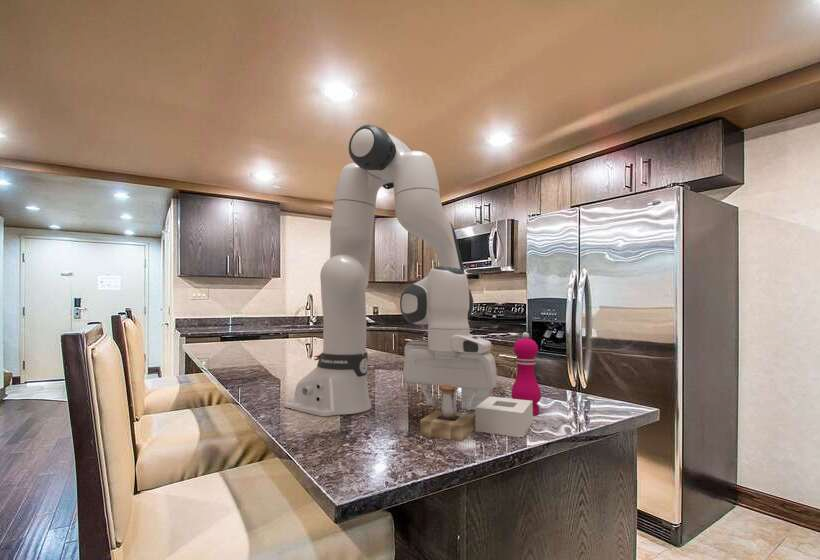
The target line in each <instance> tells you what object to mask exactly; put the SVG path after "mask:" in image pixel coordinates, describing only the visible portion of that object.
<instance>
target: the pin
mask: <svg viewBox="0 0 820 560" xmlns="http://www.w3.org/2000/svg"><path fill="white" fill-rule="evenodd" d="M439 390H440V391H441V392H440V394H441V395H440V398H441V399H440V400H441V402H440V404H441V405H440V406H441V407H440V408H441V409H440V411H441V420H449V421H455V413H456V391H457V390H458V387H451V386H445V385H441V386H439Z"/></svg>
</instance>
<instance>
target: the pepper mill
mask: <svg viewBox="0 0 820 560" xmlns="http://www.w3.org/2000/svg"><path fill="white" fill-rule="evenodd" d="M521 337H522V338H519V339H517V340H516V341H515V343H514V344H513V352H514V354H515V356H516V357H515V364H517V365H516V366H517V371H516V372H517V373H516V374H517V375H516V377H515V380H514V383H513V385H512V388H511V393H510V395H511V399H520V400H530V401H533V416H537V415H539V414H540V405H538V403H539V402H540V400H541V398H542V393H541V389H540V386H539V384H538V381H537V378H536V376H535V374H536V373H535V365H536V364H537V362H536V361H537V358H536V355H538V352H539V346H538V344H537V342H536V341H535V340H534V339H531V338H530V333H529V332H526V331H525V332H523V333H522V335H521Z"/></svg>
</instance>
